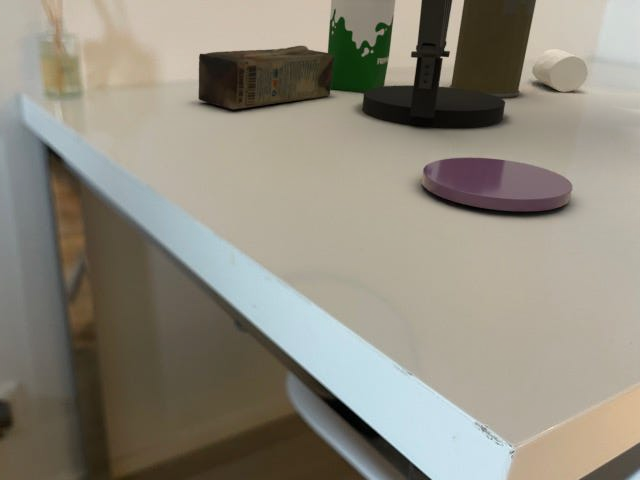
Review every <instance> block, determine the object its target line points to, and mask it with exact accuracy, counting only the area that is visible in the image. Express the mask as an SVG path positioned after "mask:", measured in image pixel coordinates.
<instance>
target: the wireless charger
mask: <svg viewBox="0 0 640 480" xmlns="http://www.w3.org/2000/svg"><path fill="white" fill-rule="evenodd" d="M413 87H414V84H413V85H407V84H406V85H405V84H404V85H386V86H385V85H384V86H383V87H377V88H372V89H368V90H366V91H365V92H363V97H362V107H361V108H362V111H363V112H364V113H365V114H366V115H368V116H370V117H372V118H375V119H379V120H383V121H387V122H392V123H395V124H396V123H397V124H403V125H409V126H417V127H429V128H440V129H441V128H443V129H469V128H470V129H471V128H483V127H488V126H493V125H497V124H499V123H501V122H502V120H503V117H504V112H505V108H506V101H505V100H504V98H499V97H496V96H493V95H490V94H486V93H481V92H477V91H471V90H464V89H457V88H449V87H447V86H439V89H438V96H437V103H436V110H435V116H434V118H425V117H414V116H410V111H411V103H412V95H413Z"/></svg>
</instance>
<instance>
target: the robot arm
mask: <svg viewBox="0 0 640 480" xmlns="http://www.w3.org/2000/svg"><path fill="white" fill-rule="evenodd" d="M420 3H421V4H420V15H419V24H418V26H419V27H418V33H417V44H416V46H415V50H416V51H413V50H412V51H411V52H410V58H412V59H413V58H415V59H416V64H415V72H414V80H413V85H414V87H413V95H412V103H411V111H410V116H414V117H425V118H434V116H435V110H436V103H437V96H438V89H439V87H440V81H441V75H442V74H441V73H442V67H443V59H444V58H449V57H450V54H451V51H450V50H445V49H446V47H447V35H448V30H449V24H450V16H451V12H452V5H453V0H421V2H420Z"/></svg>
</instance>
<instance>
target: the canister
mask: <svg viewBox="0 0 640 480" xmlns="http://www.w3.org/2000/svg"><path fill="white" fill-rule="evenodd" d="M536 2H537V0H463V5H462V12H461V19H460V26H459V31H458V39H457V45H456V51H455V57H454V65H453V72H452V77H451V84H450V85H449V87H448V88H457V89H464V90H471V91H477V92H481V93H486V94H490V95H493V96H496V97H499V98H501V99H510V98H514V97H518V96H519V95H520V94H521V93H520V90H519V89H520V84H521V79H522V74H523V69H524V64H525V59H526V53H527V48H528V44H529V38H530V35H531V34H530V33H531V28H532V23H533V18H534V13H535V8H536Z"/></svg>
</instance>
